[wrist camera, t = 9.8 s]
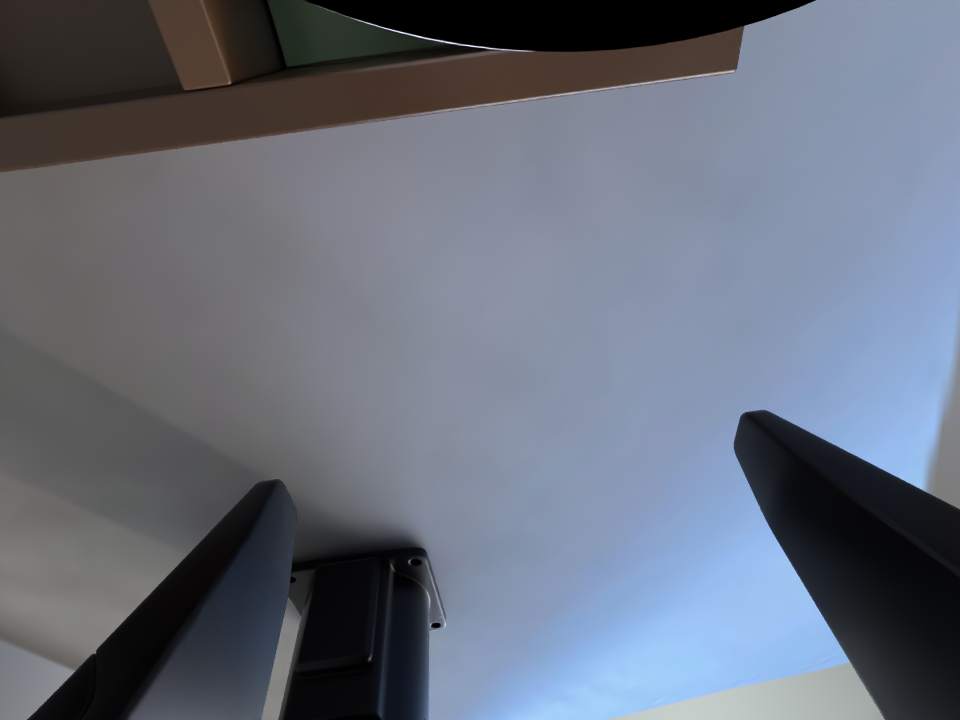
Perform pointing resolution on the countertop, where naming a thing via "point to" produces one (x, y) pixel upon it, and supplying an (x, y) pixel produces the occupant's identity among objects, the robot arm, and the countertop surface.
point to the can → (559, 20)
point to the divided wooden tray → (267, 74)
